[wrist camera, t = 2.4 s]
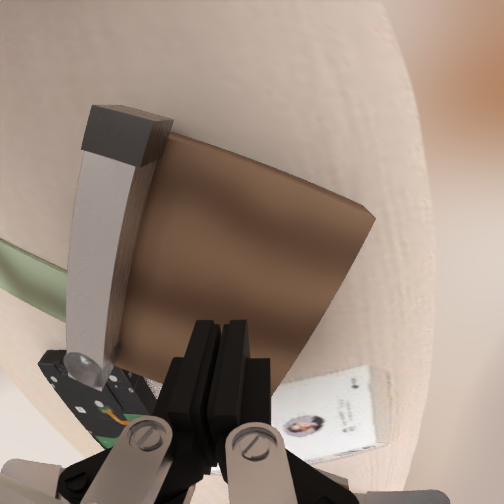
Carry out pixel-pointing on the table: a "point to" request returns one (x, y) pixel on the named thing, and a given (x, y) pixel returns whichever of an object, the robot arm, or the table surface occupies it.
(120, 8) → the table surface
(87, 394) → the disk drive
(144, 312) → the brown flat wooden board
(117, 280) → the folding leg
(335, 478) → the gray dispenser tower
